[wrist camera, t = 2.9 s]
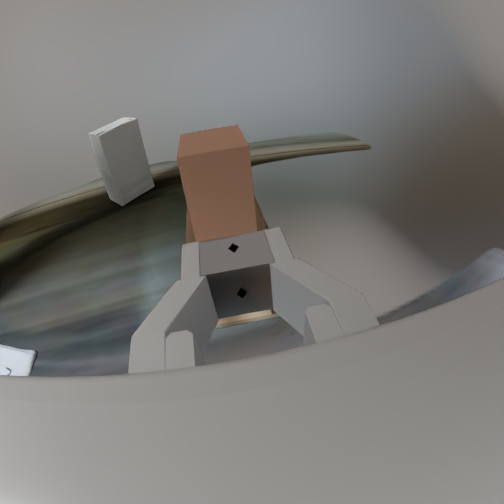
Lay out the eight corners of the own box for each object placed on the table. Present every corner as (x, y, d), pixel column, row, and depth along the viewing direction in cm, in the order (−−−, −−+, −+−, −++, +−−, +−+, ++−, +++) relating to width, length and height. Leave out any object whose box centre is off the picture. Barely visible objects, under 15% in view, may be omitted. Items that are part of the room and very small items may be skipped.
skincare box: (141, 182, 58) (124, 116, 49) (156, 187, 55) (139, 116, 45) (108, 201, 53) (86, 132, 44) (121, 208, 50) (98, 133, 41)
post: (214, 310, 29) (176, 157, 19) (210, 271, 34) (180, 134, 24) (263, 302, 30) (248, 145, 20) (253, 263, 34) (237, 125, 24)
